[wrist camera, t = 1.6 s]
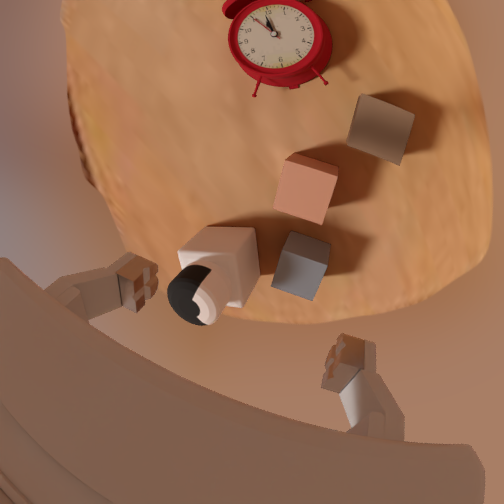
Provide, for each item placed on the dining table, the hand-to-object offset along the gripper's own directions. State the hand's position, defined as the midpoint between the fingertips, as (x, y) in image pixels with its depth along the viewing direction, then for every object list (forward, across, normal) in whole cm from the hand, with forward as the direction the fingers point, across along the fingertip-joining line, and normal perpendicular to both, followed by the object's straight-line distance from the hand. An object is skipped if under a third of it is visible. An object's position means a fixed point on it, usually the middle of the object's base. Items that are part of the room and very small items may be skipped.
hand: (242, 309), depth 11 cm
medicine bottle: (+22, +7, +12) cm, 26 cm away
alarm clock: (+22, +7, -16) cm, 28 cm away
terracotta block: (+22, 0, 0) cm, 22 cm away
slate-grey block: (+22, -2, +9) cm, 23 cm away
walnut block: (+22, -5, -8) cm, 24 cm away
